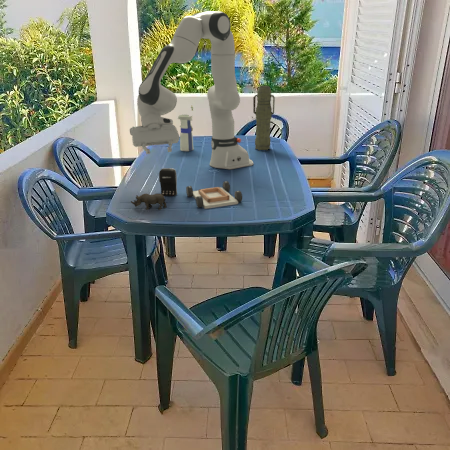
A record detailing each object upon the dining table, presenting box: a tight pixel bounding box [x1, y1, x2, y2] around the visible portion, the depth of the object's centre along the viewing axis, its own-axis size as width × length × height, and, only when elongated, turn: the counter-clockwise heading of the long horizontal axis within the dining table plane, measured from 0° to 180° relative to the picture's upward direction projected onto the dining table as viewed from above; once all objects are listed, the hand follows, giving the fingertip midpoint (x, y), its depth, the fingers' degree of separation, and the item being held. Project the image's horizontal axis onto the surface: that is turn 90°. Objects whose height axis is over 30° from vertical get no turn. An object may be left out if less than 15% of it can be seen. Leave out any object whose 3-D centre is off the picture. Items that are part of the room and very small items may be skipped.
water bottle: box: [177, 106, 194, 152], centre depth 250 cm, size 8×8×25 cm
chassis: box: [185, 180, 243, 210], centre depth 179 cm, size 18×18×4 cm
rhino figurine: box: [130, 193, 167, 211], centre depth 170 cm, size 4×14×6 cm, turn 89°
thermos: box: [252, 85, 276, 151], centre depth 248 cm, size 9×12×35 cm
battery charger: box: [158, 167, 178, 197], centre depth 181 cm, size 7×4×11 cm, turn 85°
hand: (159, 152), depth 187 cm, fingers open, 8 cm apart
